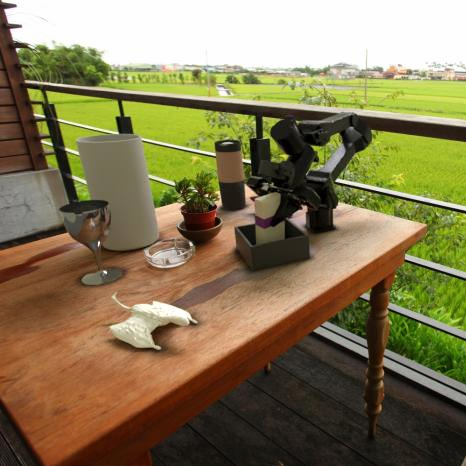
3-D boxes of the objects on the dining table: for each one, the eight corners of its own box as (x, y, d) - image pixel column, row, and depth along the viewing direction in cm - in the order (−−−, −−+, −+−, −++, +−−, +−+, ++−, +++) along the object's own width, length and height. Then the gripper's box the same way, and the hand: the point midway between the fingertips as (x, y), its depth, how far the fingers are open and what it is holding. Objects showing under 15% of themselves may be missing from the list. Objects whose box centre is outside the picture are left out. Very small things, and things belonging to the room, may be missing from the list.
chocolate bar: (256, 250, 89) (254, 198, 83) (276, 241, 93) (275, 191, 87) (264, 255, 87) (263, 203, 81) (284, 246, 92) (285, 195, 86)
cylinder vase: (101, 256, 87) (72, 143, 78) (103, 237, 97) (78, 135, 88) (162, 246, 93) (142, 140, 83) (158, 229, 103) (140, 132, 94)
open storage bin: (288, 238, 98) (287, 217, 96) (309, 257, 88) (309, 235, 86) (236, 248, 92) (234, 226, 90) (252, 270, 82) (250, 247, 80)
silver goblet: (127, 265, 83) (112, 198, 78) (121, 282, 77) (104, 210, 71) (84, 270, 81) (65, 202, 75) (74, 289, 74) (53, 214, 68)
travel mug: (240, 201, 126) (234, 139, 119) (251, 207, 121) (245, 142, 113) (217, 205, 122) (209, 141, 114) (227, 212, 116) (220, 144, 109)
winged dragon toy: (83, 328, 62) (76, 306, 61) (138, 298, 71) (133, 278, 70) (164, 360, 56) (159, 336, 54) (214, 322, 64) (211, 301, 63)
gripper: (248, 141, 89) (214, 199, 84) (311, 150, 79) (277, 215, 75) (274, 169, 98) (244, 222, 93) (334, 180, 88) (304, 240, 84)
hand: (265, 224), depth 86 cm, fingers closed on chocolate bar, 3 cm apart
